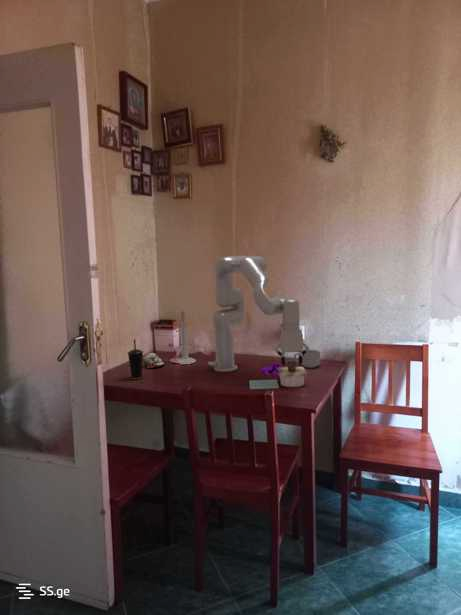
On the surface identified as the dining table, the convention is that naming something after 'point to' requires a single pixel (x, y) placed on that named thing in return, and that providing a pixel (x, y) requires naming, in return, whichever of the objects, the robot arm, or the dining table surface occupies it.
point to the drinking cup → (135, 362)
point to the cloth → (271, 369)
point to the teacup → (310, 358)
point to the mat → (263, 384)
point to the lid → (291, 370)
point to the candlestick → (184, 344)
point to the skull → (152, 360)
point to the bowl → (292, 381)
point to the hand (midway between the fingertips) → (291, 364)
